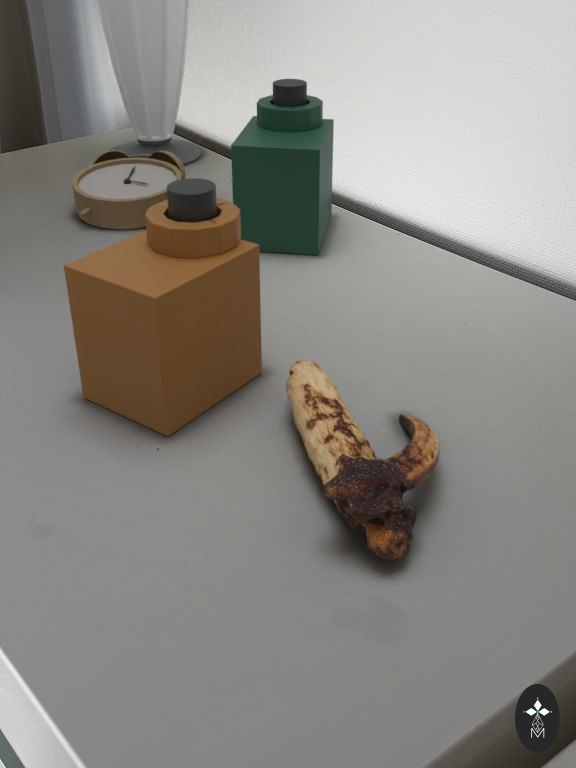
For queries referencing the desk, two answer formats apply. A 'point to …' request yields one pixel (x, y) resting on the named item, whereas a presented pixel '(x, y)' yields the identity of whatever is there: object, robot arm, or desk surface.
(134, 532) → the desk surface
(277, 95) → the short charcoal cylinder
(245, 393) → the desk surface
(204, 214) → the dark grey cylinder
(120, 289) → the amber bottle
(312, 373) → the lashed bone hook
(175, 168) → the alarm clock
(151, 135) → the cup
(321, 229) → the green bottle
